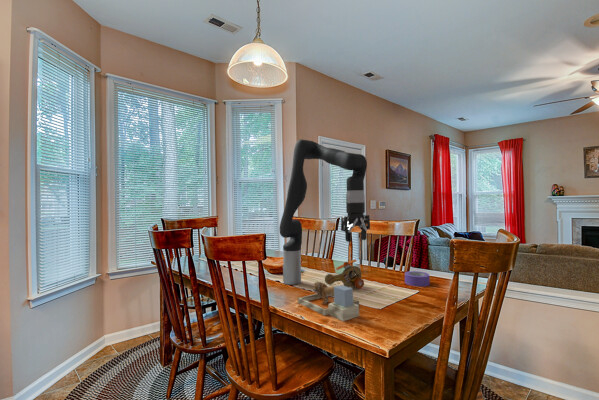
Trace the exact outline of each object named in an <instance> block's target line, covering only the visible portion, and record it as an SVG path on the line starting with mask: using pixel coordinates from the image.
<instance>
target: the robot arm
mask: <svg viewBox="0 0 599 400" xmlns="http://www.w3.org/2000/svg"><path fill="white" fill-rule="evenodd" d="M293 149H294V150H293V154H292V155H293V157H292V167H291V174H290V180H289V184H288V189H287V194H286V201H285V205H284V209H283V213H282V216H281V220H280V223H279V234H280V236H281V237H282V238H285V239H286V238H289V239H288V241H286V242H285V243H284V244H283V245H282V246H283V247H282V251H283V253H282V254H283V255H282V257H283V258H282V259H283V261H282V263H283V264H282V278H283V279H282V281H283V284H285V285H293V286H294V285H300V284H302V262H301V261H302V260H301V259H302V258H301V257H302V253H301V247H302V243H303V242H302V241H303V226H302V222H301V221H300V220H299V219H297V218H296V219H294V215H295V213H296V211H297V210H298V209H299V207H300V206H301V205H302V203H303V202H304V200H305V198H306V195H307V189H308V183H307V182H308V181H307V179H306V176H305V173H304V165H305V160H322V161H324V162H325V163H327V164H329V165H333V166H336V167H339V168H341V169H343V170H347V171H352V174H351V176H349V177H348V176H347V178H346V195H345V198H346V199H345V202H346V203H345V205H346V207H345V208H346V213H347V216H345V215H342V216H341V219H340V231H341V232H344V233H345V235H344V236H345V241H346V242H347V243H351V242H352V233H351V232H352V230H353V229H354V227H358V228H359V229H360V239H361V240H362V241H366V240H367V232H368V230H370V229H371V221H370V219H371V218H370V215H368V214H364V213H365V212H366V208H365V207H366V204H365V203H366V202H365V197H366V196H365V185H364V181H365V177H366V172H367V168H368V161H367V158H366V157H365V155H364V154H361V153H360V154H359V153H353V152H347V151H345V150H341V149H337V148H333V147H326V146H324V145H321V144H320V143H318V142H315V141H313V140H309V139H308V140H307V139H298V140H297V141H296V142H295V145H294V148H293Z"/></svg>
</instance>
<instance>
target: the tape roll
mask: <svg viewBox="0 0 599 400" xmlns="http://www.w3.org/2000/svg"><path fill="white" fill-rule="evenodd" d="M404 283H405V284H406V285H408V286H412V287H421V288H422V287H428V286H430V273H428V272H424V271H419V270H418V271H415V270H410V271H405V272H404Z"/></svg>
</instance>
